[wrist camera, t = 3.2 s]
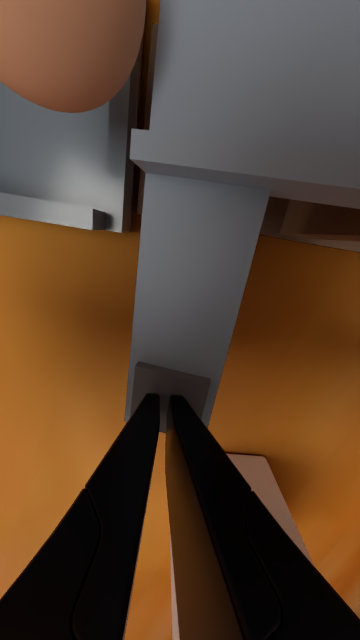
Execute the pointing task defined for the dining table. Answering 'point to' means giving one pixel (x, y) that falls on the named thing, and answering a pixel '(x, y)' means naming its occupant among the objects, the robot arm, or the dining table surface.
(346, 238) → the catapult base
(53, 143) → the grey open box
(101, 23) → the ball
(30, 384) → the dining table surface
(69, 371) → the dining table surface
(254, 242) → the lever
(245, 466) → the jar
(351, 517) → the dining table surface
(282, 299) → the dining table surface
